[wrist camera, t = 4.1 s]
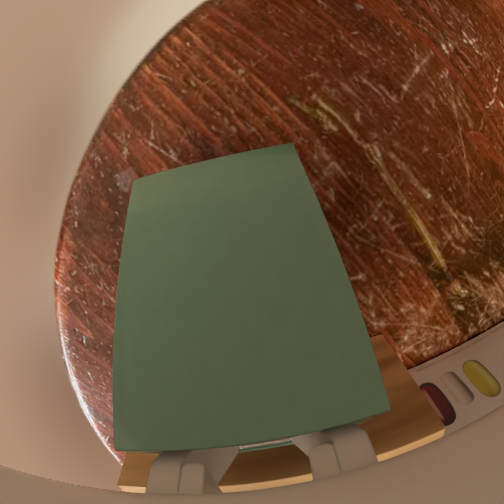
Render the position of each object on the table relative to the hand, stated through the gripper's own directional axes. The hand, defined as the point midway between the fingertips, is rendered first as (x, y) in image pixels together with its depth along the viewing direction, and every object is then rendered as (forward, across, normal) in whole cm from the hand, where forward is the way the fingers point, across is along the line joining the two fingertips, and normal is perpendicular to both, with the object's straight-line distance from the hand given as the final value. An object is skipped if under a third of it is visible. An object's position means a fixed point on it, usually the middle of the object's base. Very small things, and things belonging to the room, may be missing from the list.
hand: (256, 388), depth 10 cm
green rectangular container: (+8, 0, 0) cm, 8 cm away
